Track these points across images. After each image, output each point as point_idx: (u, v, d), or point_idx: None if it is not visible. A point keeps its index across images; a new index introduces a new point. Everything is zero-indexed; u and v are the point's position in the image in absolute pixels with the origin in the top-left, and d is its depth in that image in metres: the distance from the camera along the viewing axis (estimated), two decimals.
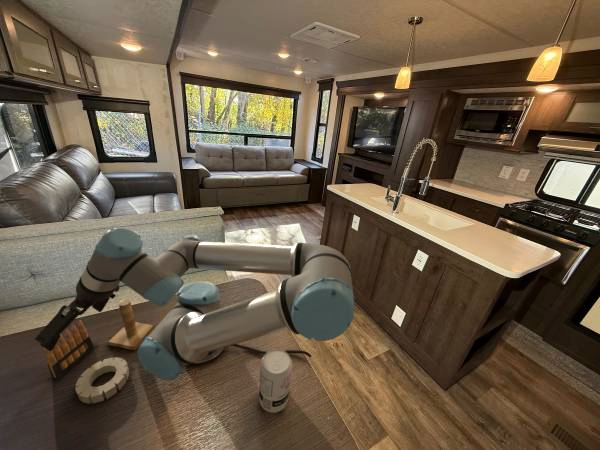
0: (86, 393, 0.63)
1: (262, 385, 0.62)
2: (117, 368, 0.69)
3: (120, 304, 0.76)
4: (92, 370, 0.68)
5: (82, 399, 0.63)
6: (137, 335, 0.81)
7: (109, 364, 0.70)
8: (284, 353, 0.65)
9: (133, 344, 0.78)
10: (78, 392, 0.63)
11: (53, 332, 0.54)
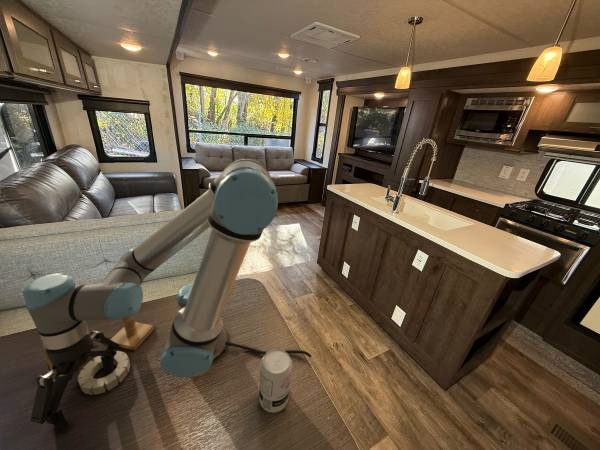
0: (88, 384, 0.65)
1: (262, 385, 0.62)
2: (118, 361, 0.71)
3: None
4: (94, 363, 0.70)
5: (84, 390, 0.65)
6: (137, 335, 0.81)
7: None
8: (284, 353, 0.65)
9: (133, 344, 0.78)
10: (80, 383, 0.65)
11: (42, 407, 0.52)
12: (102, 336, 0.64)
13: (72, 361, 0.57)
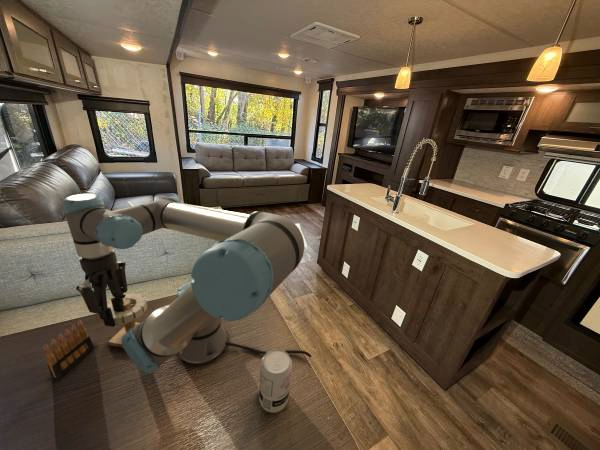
0: None
1: (262, 385, 0.62)
2: (137, 301, 0.79)
3: None
4: None
5: None
6: None
7: (132, 297, 0.80)
8: (284, 353, 0.65)
9: None
10: None
11: (92, 304, 0.65)
12: (123, 267, 0.73)
13: (100, 275, 0.65)
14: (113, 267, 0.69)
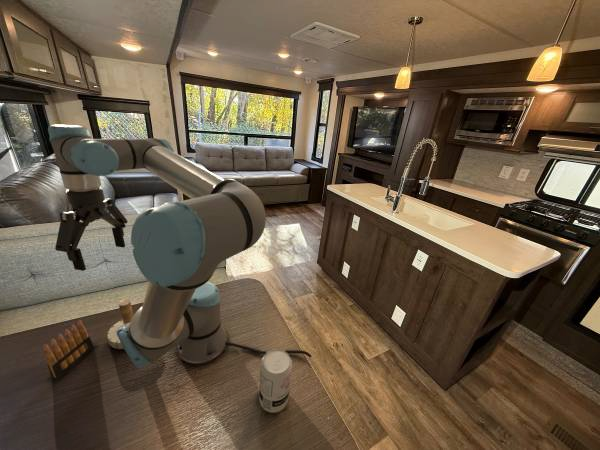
0: (114, 339, 0.76)
1: (262, 385, 0.62)
2: None
3: (120, 304, 0.76)
4: (122, 323, 0.82)
5: (111, 344, 0.76)
6: None
7: None
8: (284, 353, 0.65)
9: None
10: (109, 338, 0.76)
11: (64, 237, 0.61)
12: (113, 203, 0.73)
13: (88, 210, 0.66)
14: (102, 207, 0.70)
